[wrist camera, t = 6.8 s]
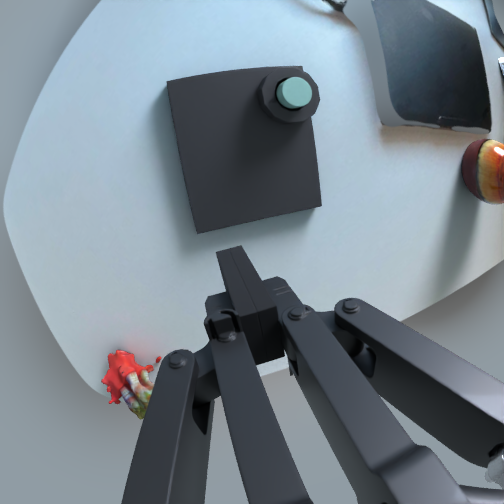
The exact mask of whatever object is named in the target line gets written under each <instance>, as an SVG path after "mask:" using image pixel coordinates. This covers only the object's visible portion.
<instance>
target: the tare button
mask: <svg viewBox="0 0 504 504" xmlns="http://www.w3.org/2000/svg"><path fill="white" fill-rule="evenodd" d="M276 94H277V98H278V100H279V102H280V103H281V104H282V105H283V106H285V107H287V108H291V109H294V108H298V107H302V106H305V105H306V104H308V103H309V101H310V100H311V97H312V90H311V87H310V85H309V84H308V83H307V82H306V81H305V80H303V79H301V78H298V77H292V78H289V79H287V80H286V81H284V82H282V83H281V84H280V85H279V86H278V88H277V92H276Z"/></svg>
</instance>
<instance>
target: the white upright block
mask: <svg viewBox="0 0 504 504" xmlns="http://www.w3.org/2000/svg"><path fill="white" fill-rule="evenodd" d="M499 64H500V67H501V70H502V72H503V75H504V58H499Z"/></svg>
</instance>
